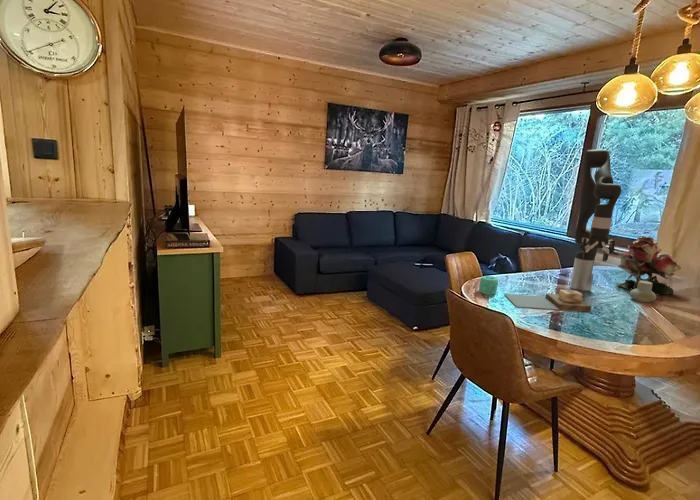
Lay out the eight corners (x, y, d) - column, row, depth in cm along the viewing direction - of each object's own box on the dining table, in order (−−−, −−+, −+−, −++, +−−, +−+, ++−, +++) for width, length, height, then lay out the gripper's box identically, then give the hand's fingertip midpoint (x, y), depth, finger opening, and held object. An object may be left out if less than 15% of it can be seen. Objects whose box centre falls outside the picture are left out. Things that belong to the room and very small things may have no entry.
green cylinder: (478, 293, 203) (480, 278, 201) (481, 289, 210) (482, 275, 208) (494, 296, 199) (496, 281, 198) (496, 292, 206) (498, 277, 205)
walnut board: (573, 300, 199) (574, 295, 198) (590, 311, 183) (591, 306, 183) (545, 298, 200) (546, 293, 199) (559, 309, 184) (559, 304, 184)
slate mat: (543, 297, 201) (543, 296, 201) (559, 310, 183) (560, 309, 183) (504, 294, 203) (504, 293, 202) (516, 307, 184) (516, 306, 184)
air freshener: (631, 301, 201) (635, 282, 199) (627, 296, 208) (630, 278, 206) (657, 304, 197) (661, 285, 195) (651, 300, 205) (655, 281, 203)
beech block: (575, 298, 193) (576, 290, 193) (581, 302, 188) (582, 294, 187) (558, 297, 194) (559, 289, 193) (563, 301, 188) (565, 293, 187)
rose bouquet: (681, 293, 218) (693, 241, 212) (642, 296, 210) (653, 241, 203) (636, 280, 242) (646, 232, 236) (600, 282, 234) (609, 233, 227)
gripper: (612, 226, 186) (606, 260, 190) (580, 224, 188) (575, 257, 191) (621, 229, 179) (614, 263, 182) (588, 226, 181) (582, 261, 184)
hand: (594, 260), depth 187 cm, fingers open, 8 cm apart
